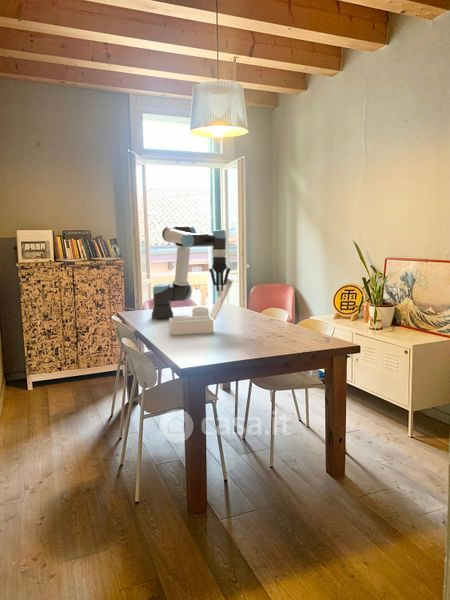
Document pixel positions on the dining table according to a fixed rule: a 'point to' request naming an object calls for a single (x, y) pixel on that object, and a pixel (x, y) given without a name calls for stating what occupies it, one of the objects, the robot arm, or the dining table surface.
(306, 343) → the dining table surface
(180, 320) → the box
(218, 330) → the dining table surface
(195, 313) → the photo printer
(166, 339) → the dining table surface
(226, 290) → the mailer lid
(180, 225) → the robot arm
